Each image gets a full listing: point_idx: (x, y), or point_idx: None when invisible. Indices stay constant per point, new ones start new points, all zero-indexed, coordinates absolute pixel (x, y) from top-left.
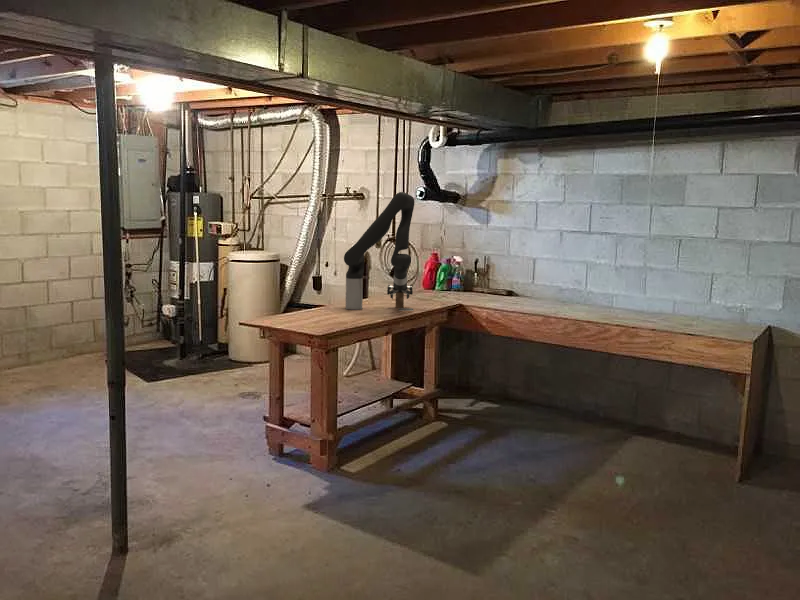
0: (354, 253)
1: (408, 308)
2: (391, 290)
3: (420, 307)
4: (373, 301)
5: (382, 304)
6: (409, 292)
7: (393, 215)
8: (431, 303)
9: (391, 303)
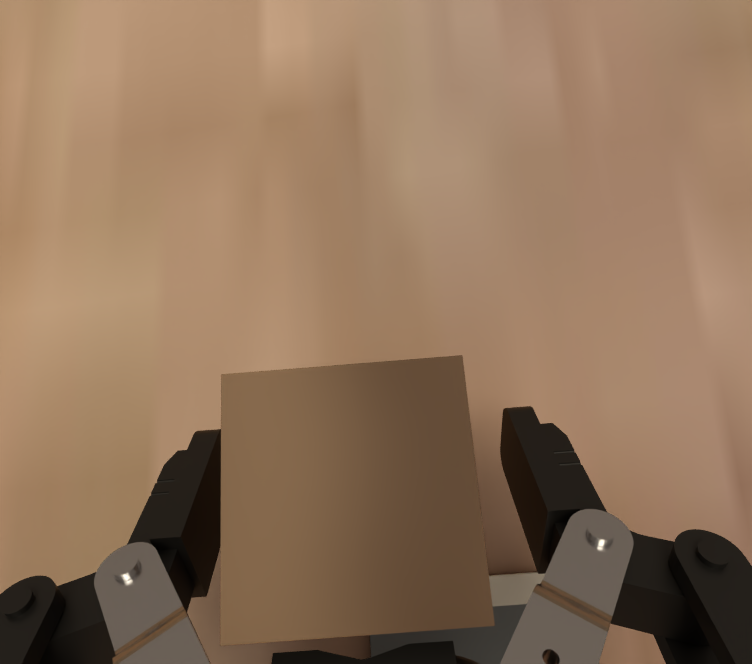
0: None
1: (517, 596)
2: (109, 626)
3: (666, 396)
4: (49, 13)
5: (143, 213)
6: (639, 616)
7: None
8: (744, 46)
9: (256, 120)
